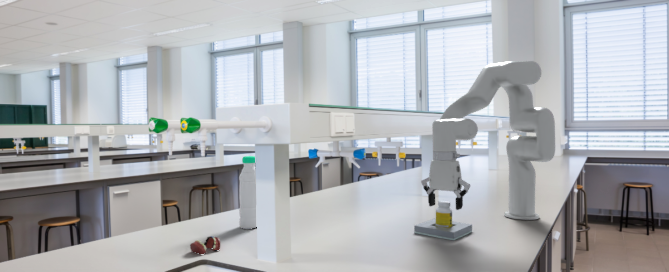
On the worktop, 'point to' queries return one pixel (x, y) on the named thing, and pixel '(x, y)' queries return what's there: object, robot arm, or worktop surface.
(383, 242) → the worktop surface
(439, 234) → the holder block
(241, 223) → the water bottle
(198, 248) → the dental model
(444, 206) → the supplement bottle
